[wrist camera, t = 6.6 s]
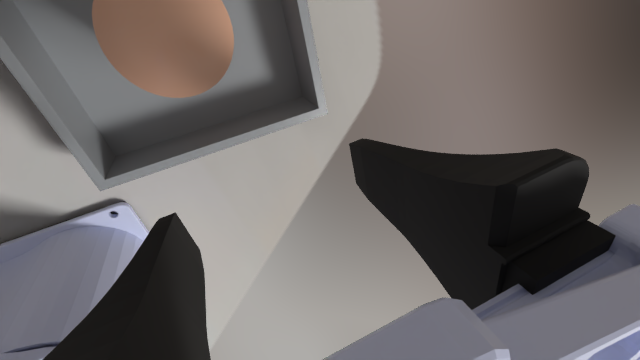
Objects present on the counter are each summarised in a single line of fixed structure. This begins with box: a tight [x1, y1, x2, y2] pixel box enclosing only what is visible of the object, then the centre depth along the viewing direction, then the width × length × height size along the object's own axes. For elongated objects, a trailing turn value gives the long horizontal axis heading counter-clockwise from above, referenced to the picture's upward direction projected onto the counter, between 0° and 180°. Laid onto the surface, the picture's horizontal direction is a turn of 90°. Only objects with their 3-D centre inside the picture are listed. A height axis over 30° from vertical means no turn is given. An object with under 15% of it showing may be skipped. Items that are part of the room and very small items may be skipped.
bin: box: [0, 0, 328, 191], centre depth 15 cm, size 13×12×4 cm
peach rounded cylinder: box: [92, 0, 234, 98], centre depth 13 cm, size 5×5×6 cm
